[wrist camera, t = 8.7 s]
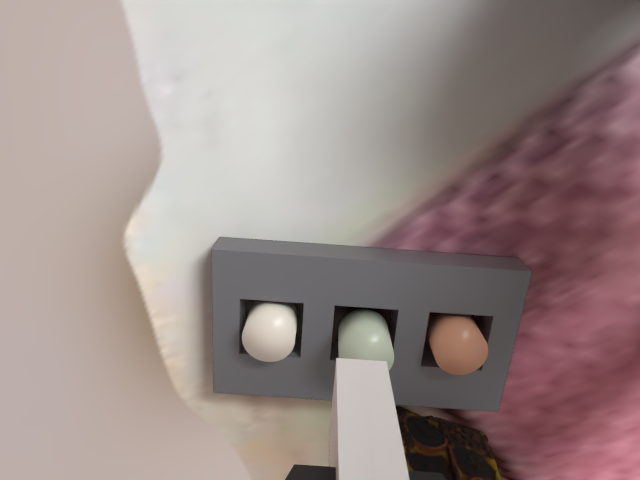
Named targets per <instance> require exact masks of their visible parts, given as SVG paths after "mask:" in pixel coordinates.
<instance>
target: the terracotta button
mask: <svg viewBox="0 0 640 480" xmlns="http://www.w3.org/2000/svg"><path fill="white" fill-rule="evenodd" d="M426 335H427V338H428V341H429V344H430V346H431V349H432V352H433V355H434V357H435V360H436V363H437V364H438V366H439V367H440V368H441V369H442V370H444V371H445V372H447V373H450V374H454V375H464V374H468V373H471V372H473V371H475V370H477V369H478V368H480V367H481V366H482V364H483V363H484V362H485V360H486V358H487V355H488V345H487V342H486V340H485V339H484V337H483V335H482V333H481V332H480V330H479V328H478V327H477V325H476V323H475V321H474V320H473V318H472V316H471V315H465V314H451V313H436V312H434V313H432V314H431V316H430V317H429V319H428V325H427V331H426Z"/></svg>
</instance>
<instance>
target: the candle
mask: <svg viewBox="0 0 640 480" xmlns="http://www.w3.org/2000/svg"><path fill="white" fill-rule="evenodd" d="M395 407H396V412H397V417H398V423H399V428H400V433H401V438H402V443H403V448H404V454H405V459H406V464H407V469H408V471H419V472H434V473H442V474H443V476H444V477H445V478H446V480H502V479H501V477H500V475H499V472H498V469H497V465H496V462H495V458H494V453H493V451H492V449H491V447H490V446H489V445H488V444H487V442H488V439H487V437H486V436H485V435H484V433H482V432H479V431H476V430H473V429H470V428H466V427H463V426H461V425H459V424H456V423H452V422H449V421H445V420H443V419H440V418H433V417H432V416H428V417H422V416H420V415H418V414H415V413H413V412H411V411H409V410H408V409H404V408H402V407H398V406H395Z"/></svg>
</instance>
